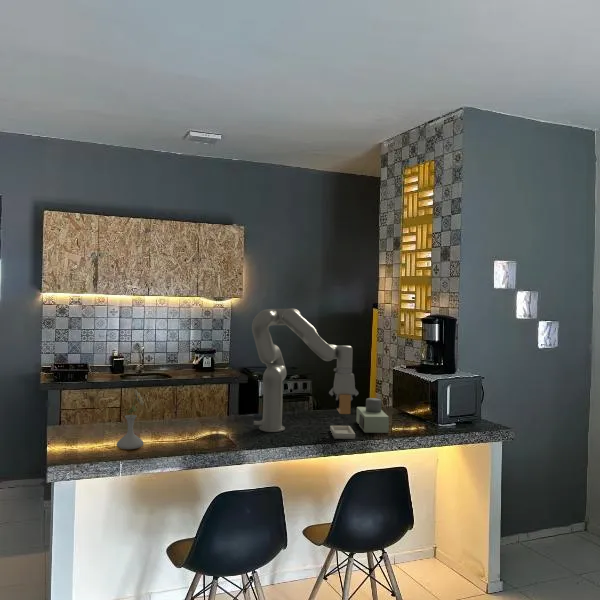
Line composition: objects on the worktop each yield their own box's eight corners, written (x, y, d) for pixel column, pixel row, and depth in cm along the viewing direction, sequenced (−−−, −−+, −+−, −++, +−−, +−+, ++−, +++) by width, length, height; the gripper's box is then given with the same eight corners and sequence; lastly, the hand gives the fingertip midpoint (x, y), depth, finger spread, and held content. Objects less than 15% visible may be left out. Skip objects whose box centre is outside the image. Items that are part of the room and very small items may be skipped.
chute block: (340, 414, 289) (340, 395, 289) (336, 409, 300) (337, 391, 300) (350, 414, 290) (350, 395, 289) (346, 409, 300) (347, 391, 300)
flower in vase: (134, 452, 253) (136, 393, 252) (110, 449, 256) (112, 391, 255) (150, 445, 265) (152, 388, 265) (127, 442, 268) (129, 386, 268)
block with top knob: (363, 432, 301) (364, 404, 301) (355, 421, 325) (356, 395, 325) (388, 432, 302) (389, 404, 302) (378, 421, 326) (379, 396, 326)
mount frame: (334, 438, 287) (334, 433, 287) (329, 430, 303) (330, 425, 303) (355, 438, 288) (355, 433, 288) (349, 430, 304) (349, 425, 303)
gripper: (328, 371, 290) (327, 409, 290) (363, 372, 291) (362, 409, 292) (326, 369, 298) (325, 406, 298) (360, 370, 299) (359, 406, 299)
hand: (343, 407), depth 295 cm, fingers closed on chute block, 5 cm apart
